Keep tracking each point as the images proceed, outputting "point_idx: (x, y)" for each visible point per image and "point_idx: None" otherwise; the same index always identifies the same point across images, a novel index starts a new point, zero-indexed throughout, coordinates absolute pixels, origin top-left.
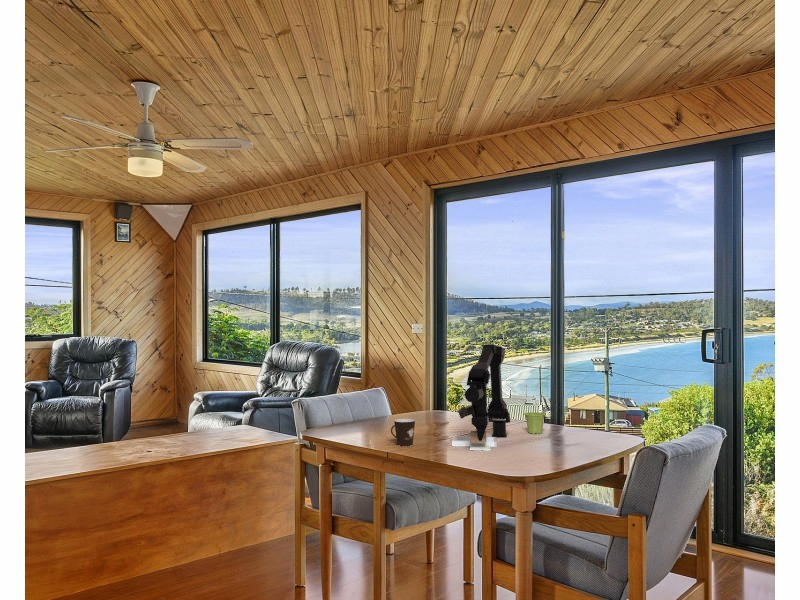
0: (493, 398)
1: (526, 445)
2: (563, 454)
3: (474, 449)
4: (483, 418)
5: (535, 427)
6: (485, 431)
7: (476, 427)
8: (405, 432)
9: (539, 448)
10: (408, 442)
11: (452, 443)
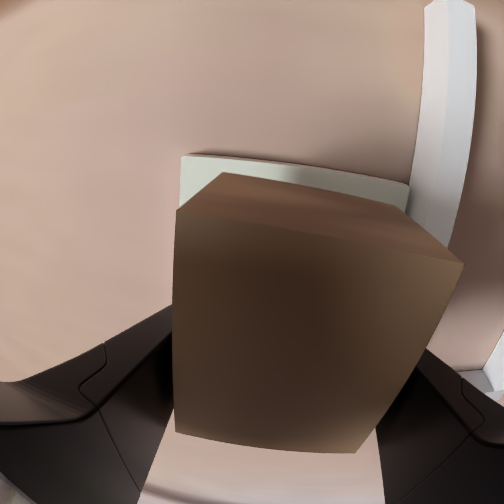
0: None
1: (347, 476)
2: (165, 499)
3: (181, 203)
4: None
5: None
6: (302, 448)
7: (11, 393)
8: None
9: (270, 494)
10: None
11: (435, 5)
